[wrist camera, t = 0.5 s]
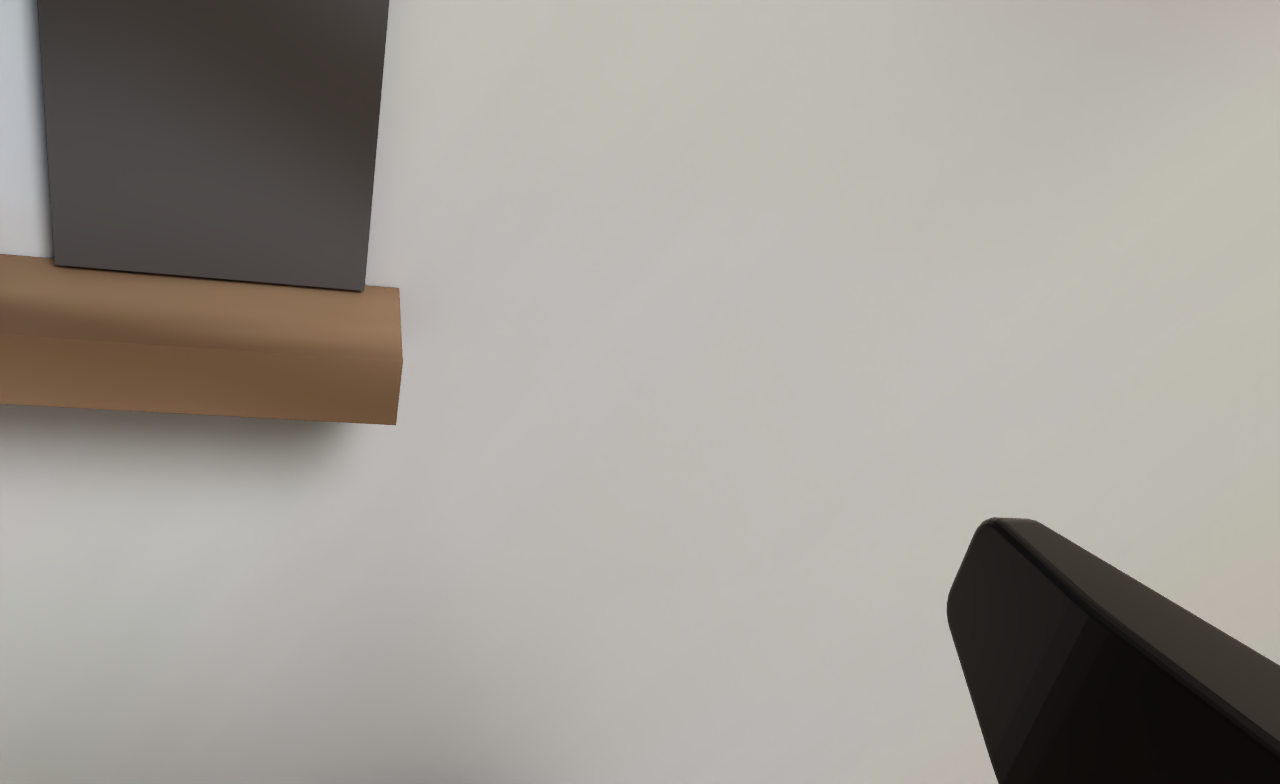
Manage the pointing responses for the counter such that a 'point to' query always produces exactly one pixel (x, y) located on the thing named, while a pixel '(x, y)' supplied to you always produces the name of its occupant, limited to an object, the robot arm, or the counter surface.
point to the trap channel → (207, 214)
